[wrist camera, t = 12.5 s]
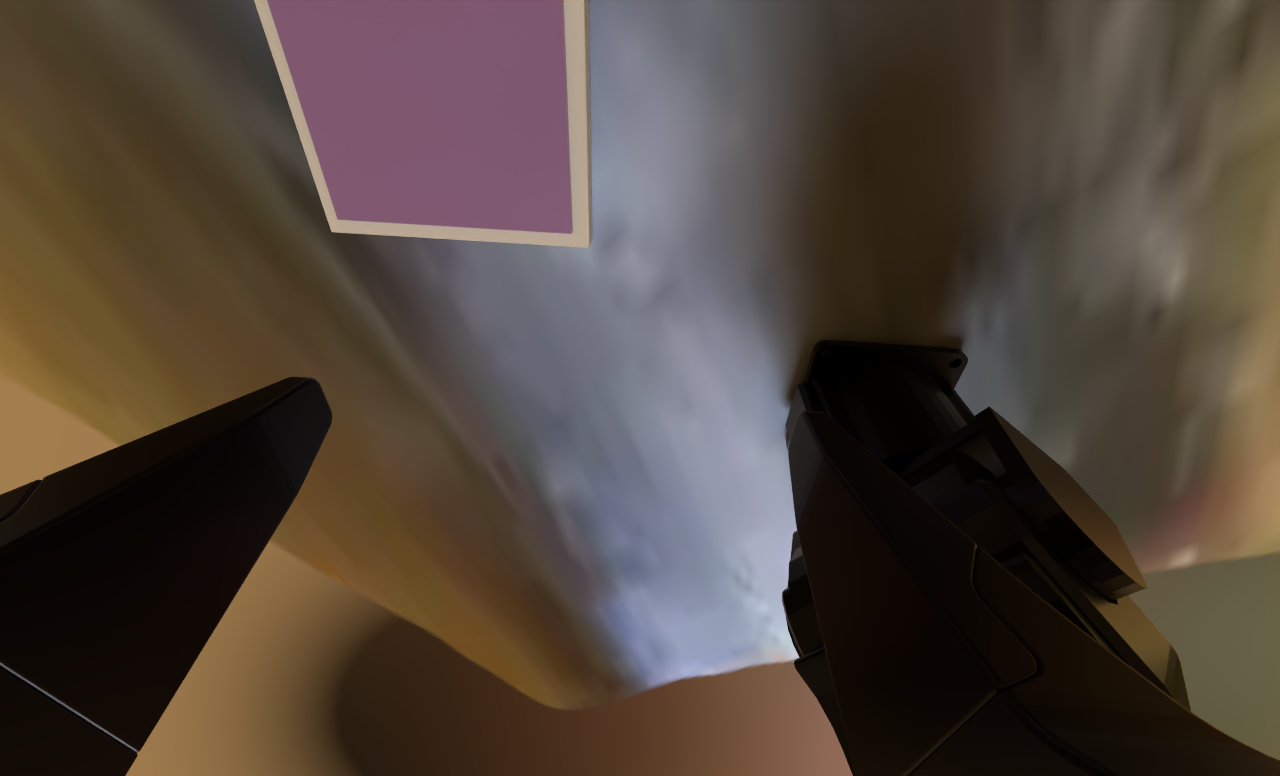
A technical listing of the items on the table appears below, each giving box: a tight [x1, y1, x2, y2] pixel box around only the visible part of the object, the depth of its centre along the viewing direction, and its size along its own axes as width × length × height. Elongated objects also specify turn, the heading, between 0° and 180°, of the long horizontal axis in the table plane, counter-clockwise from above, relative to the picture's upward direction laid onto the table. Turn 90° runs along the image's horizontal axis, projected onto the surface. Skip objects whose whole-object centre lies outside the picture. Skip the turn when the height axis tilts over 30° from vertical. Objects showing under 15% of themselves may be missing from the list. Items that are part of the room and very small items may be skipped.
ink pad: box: [254, 0, 592, 248], centre depth 17 cm, size 10×8×1 cm
